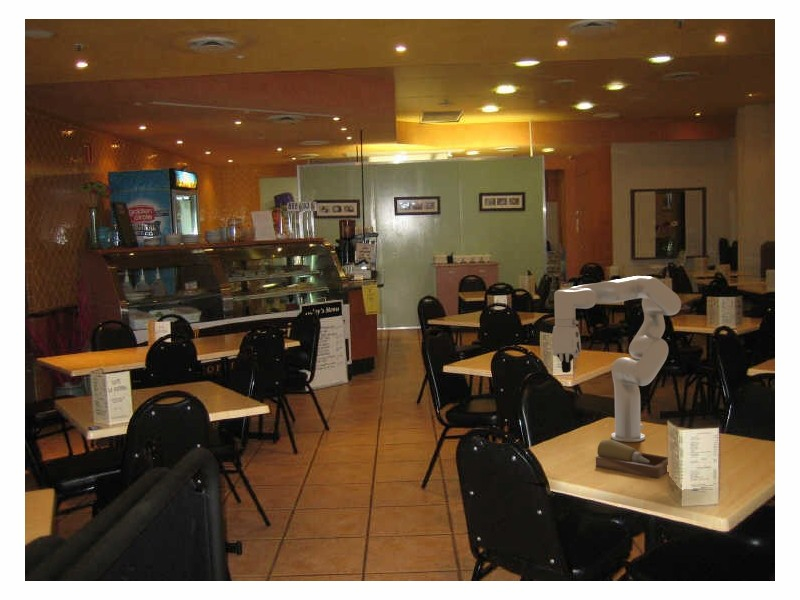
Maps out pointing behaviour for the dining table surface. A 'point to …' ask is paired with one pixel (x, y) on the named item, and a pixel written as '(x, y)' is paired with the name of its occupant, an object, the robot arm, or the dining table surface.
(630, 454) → the squeeze bottle
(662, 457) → the brown wooden tray
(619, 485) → the dining table surface
